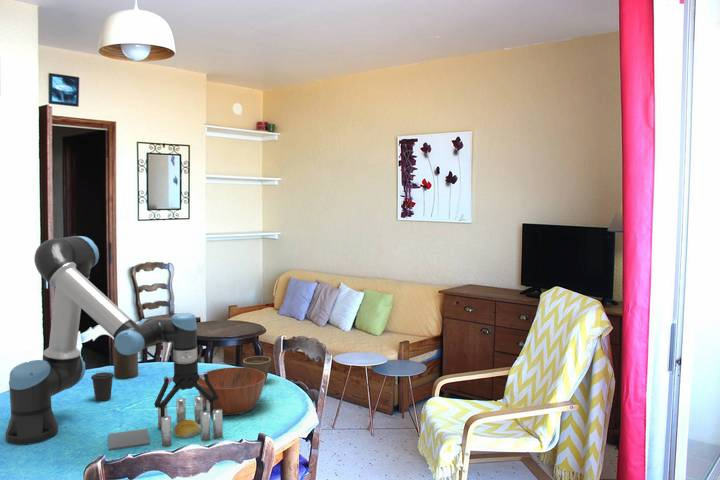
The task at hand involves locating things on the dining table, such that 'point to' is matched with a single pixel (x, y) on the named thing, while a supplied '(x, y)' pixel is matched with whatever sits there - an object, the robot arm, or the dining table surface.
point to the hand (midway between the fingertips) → (187, 423)
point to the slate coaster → (128, 439)
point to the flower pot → (258, 364)
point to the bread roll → (186, 429)
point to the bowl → (234, 389)
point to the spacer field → (200, 418)
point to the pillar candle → (125, 365)
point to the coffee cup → (102, 386)
